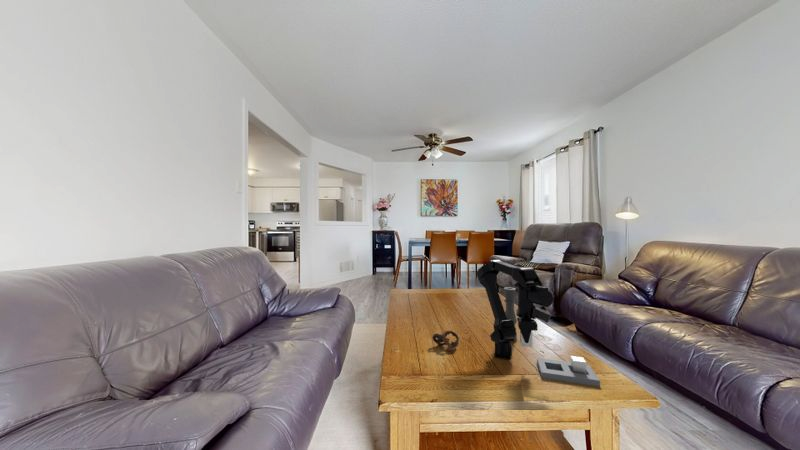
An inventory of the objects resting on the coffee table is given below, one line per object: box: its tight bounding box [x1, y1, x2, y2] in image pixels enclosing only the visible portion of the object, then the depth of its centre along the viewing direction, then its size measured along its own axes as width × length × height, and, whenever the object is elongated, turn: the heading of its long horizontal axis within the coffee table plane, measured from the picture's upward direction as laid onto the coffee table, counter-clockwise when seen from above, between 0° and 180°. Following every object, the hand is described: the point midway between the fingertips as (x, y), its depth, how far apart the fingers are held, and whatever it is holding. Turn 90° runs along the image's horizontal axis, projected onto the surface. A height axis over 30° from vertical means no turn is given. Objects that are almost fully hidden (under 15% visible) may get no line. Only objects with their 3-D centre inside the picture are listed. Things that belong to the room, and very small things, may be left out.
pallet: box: [536, 357, 601, 387], centre depth 105 cm, size 18×12×3 cm, turn 71°
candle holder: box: [503, 286, 518, 342], centre depth 140 cm, size 6×6×25 cm
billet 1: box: [519, 330, 533, 348], centre depth 109 cm, size 4×4×6 cm
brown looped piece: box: [432, 330, 460, 352], centre depth 131 cm, size 12×10×8 cm
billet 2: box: [570, 355, 587, 374], centre depth 104 cm, size 4×4×6 cm
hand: (526, 340), depth 109 cm, fingers closed on billet 1, 4 cm apart
